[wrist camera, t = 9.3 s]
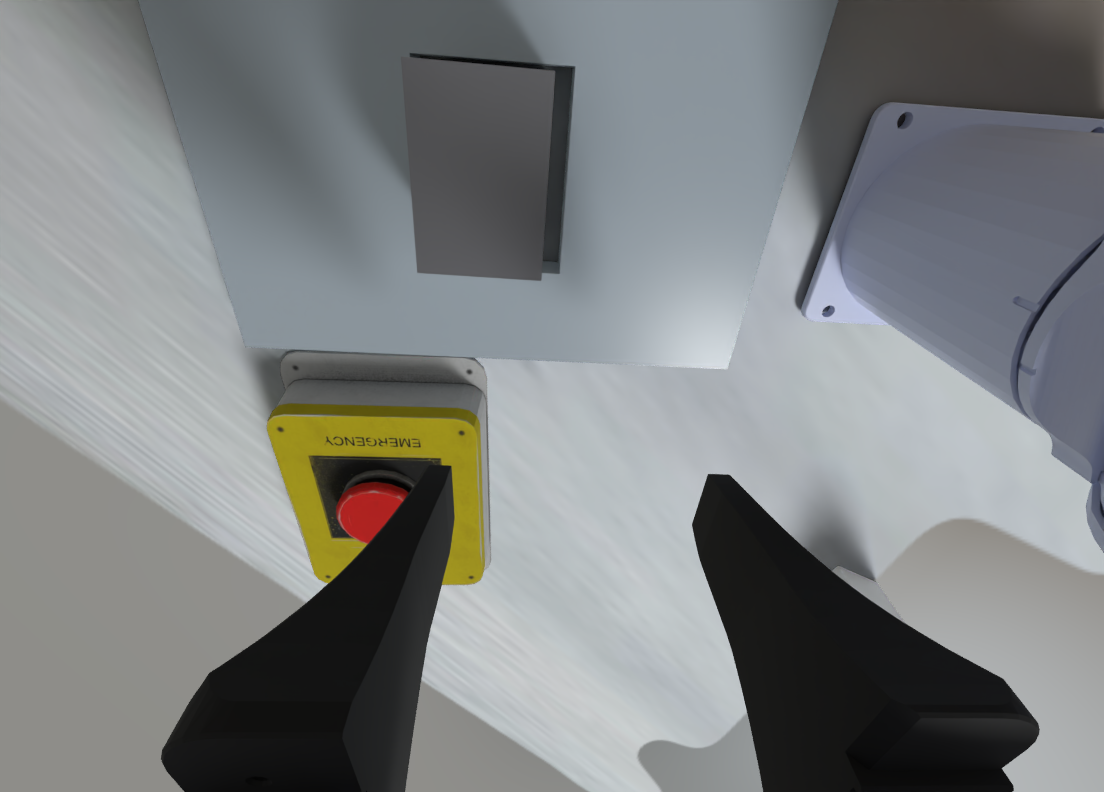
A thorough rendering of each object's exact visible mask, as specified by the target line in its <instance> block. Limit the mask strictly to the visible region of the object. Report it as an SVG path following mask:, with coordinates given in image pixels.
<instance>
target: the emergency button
mask: <svg viewBox="0 0 1104 792" xmlns="http://www.w3.org/2000/svg"><path fill="white" fill-rule="evenodd" d="M280 374H281V377H282V381H283V384H284V388H285V393H284V395H283V396H282V398H281V400H280V401H279V403H278V405H277V407H276V408H275V409H274V410H273V411H272V413H271V415H270V417H269V419H268V422H267V432H268V435H269V438H270V441H271V444H272V447H273V450H274V453H275V456H276V459H277V462H278V465H279V468H280V471H281V474H282V477H283V480H284V483H285V486H286V489H287V492H288V495H289V498H290V501H291V504H292V507H293V510H294V513H295V516H296V519H297V522H298V525H299V528H300V531H301V534H302V537H303V540H304V543H305V546H306V550H307V553H308V556H309V559H310V562H311V565H312V568H313V571H314V574H315V575H316V576H317V578H318V579H319V580H321V581H324V582H326V583H330V582H331V581H332V580H333V579H334V578H335V577H336V576H337V575H338V574H339V573H340V572H341V571H342V570H343V569H344V568H345V567H346V566H347V565H348V564H349V563H350V562H351V561H352V560H353V559H354V558H355V557H356V556H357V555H358V554H359V553H360V552H361V551H362V550H363V549H364V548H365V547H366V546H367V544H368V543H369V542H370V541H371V540H372V539H373V537H374V536H375V535H376V534H377V533H378V532H379V531H380V529H381V528H382V527H383V526H384V525H385V523H386V522H387V521H388V520H389V519H390V517H391V516H392V515H393V513H394V512H395V511H396V509H397V508H398V507H399V506H400V504H401V503H402V502H403V500H404V499H405V498H406V496H407V495H408V493H409V492H410V491H411V489H412V488H413V486H414V485H415V483H416V482H417V480H418V479H419V477H420V476H421V474H422V472H423V471H424V469H425V468H426V467H427V466H428V465H448V466H452V482H453V498H454V515H455V520H454V527H453V535H452V542H451V549H450V554H449V558H448V562H447V566H446V570H445V574H444V578H443V582H442V585H470V584H475V583H477V582H479V581H480V580H481V578H482V576H483V572H484V570H485V569H487V568H488V567H489V565H490V562H491V532H490V489H489V446H488V404H487V377H486V373H485V370H484V367H483V366H482V365H481V364H480V363H479V362H478V361H477V360H476V359H473V358H470V357H450V356H428V355H406V354H385V353H359V352H330V351H301V350H298V351H294V352H290V353H287V355H286V356H285V357H284V358H283V360H282V361H281V363H280Z"/></svg>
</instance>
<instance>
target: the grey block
mask: <svg viewBox="0 0 1104 792" xmlns="http://www.w3.org/2000/svg"><path fill="white" fill-rule="evenodd" d="M401 65H402V79H403V92H404V105H405V118H406V131H407V145H408V158H409V171H410V184H411V197H412V211H413V224H414V237H415V250H416V263H417V273H425V274H440V275H456V276H471V277H486V278H502V279H517V280H532V281H541V279H542V264H543V249H544V234H545V219H546V204H547V189H548V174H549V159H550V144H551V129H552V114H553V99H554V84H555V71H551V70H541V69H530V68H519V67H508V66H498V65H487V64H476V63H466V62H455V61H444V60H433V59H423V58H412V57H401Z"/></svg>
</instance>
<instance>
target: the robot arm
mask: <svg viewBox="0 0 1104 792" xmlns="http://www.w3.org/2000/svg"><path fill="white" fill-rule="evenodd" d="M903 113H905V115H906V118H905V122H904V123H903V125H902V126H900V127H899V128H898V126H897V120H898V119H899V117H900V116H901V115H902V114H903ZM1092 130H1093V132H1091V131H1092ZM827 306H830V309H829V310H828V311H827V312H825V313H822V311H823V309H824V308H825V307H827ZM801 313H802V315H803V316H804V317H805V318H806V319H807V320H809V321H817V322H836V323H856V324H875V325H891V326H892V327H894V328H895V329H897V330H898V331H900V332H901V333H902V334H904V335H905V336H907V337H908V338H910V339H911V340H913V341H914V342H916V343H917V344H919V345H920V346H922V347H923V348H925V349H926V350H928V351H929V352H931V353H932V354H933V355H935V356H936V357H938V358H939V359H941V360H942V361H944V362H945V363H947V364H948V365H950V366H951V367H953V368H954V369H956V370H957V371H959V372H960V373H962V374H963V375H964V376H966V377H967V378H969V379H970V380H972V381H973V382H975V383H976V384H978V385H979V386H981V387H982V388H984V389H985V390H987V391H988V392H990V393H991V394H993V395H994V396H995V397H997V398H998V399H1000V400H1001V401H1003V402H1004V403H1006V404H1007V405H1009V406H1010V407H1012V408H1013V409H1015V410H1016V411H1018V412H1019V413H1021V414H1022V415H1024V416H1025V417H1026V418H1028V419H1029V420H1031V421H1032V422H1034V423H1035V424H1037V425H1039V426H1040V427H1041V428H1043V429H1044V430H1045V431H1046V432H1047V433H1048V434H1049V435H1050V437H1051V439H1052V444H1053V446H1052V455H1053V456H1054V457H1055V458H1057V459H1058V460H1060V461H1061V462H1062V463H1064V464H1065V465H1067V466H1068V467H1069V468H1071V469H1072V470H1074V471H1075V472H1076V473H1078V474H1079V475H1080V476H1082V477H1083V478H1085V479H1086V480H1087V481H1089V482H1090V483H1092V486H1091V489H1090V491H1089V495H1088V499H1087V503H1086V512H1087V521H1088V525H1089V527H1090V529H1091V532H1092V534H1093V537H1094V539H1095V541H1096V542H1097V544H1098V545H1099V547H1100V548H1101V550H1102V551H1103V553H1104V119H1096V118H1084V117H1071V116H1059V115H1046V114H1034V113H1021V112H1009V111H996V110H984V109H971V108H959V107H946V106H934V105H921V104H909V103H896V102H890V103H885V104H883V105H881V106H880V107H879V108H878V109H877V110H876V111H875V112H874V114H873V115H872V117H871V120H870V123H869V125H868V128H867V131H866V133H865V136H864V139H863V142H862V144H861V147H860V150H859V152H858V155H857V158H856V161H855V163H854V166H853V169H852V171H851V174H850V177H849V180H848V182H847V185H846V188H845V191H844V193H843V196H842V199H841V201H840V204H839V207H838V210H837V212H836V215H835V218H834V220H833V223H832V226H831V229H830V231H829V234H828V237H827V239H826V242H825V245H824V248H823V250H822V253H821V256H820V259H819V261H818V264H817V267H816V269H815V272H814V275H813V278H812V280H811V283H810V286H809V288H808V291H807V294H806V297H805V299H804V302H803V305H802V308H801ZM454 520H455V515H454V498H453V482H452V466H448V465H428V466H427V467H426V468H425V469H424V471H423V472H422V474H421V476H420V477H419V479H418V480H417V482H416V483H415V485H414V486H413V488H412V489H411V491H410V492H409V493H408V495H407V496H406V498H405V499H404V500H403V502H402V503H401V504H400V506H399V507H398V508H397V509H396V511H395V512H394V513H393V515H392V516H391V517H390V519H389V520H388V521H387V522H386V523H385V525H384V526H383V527H382V528H381V529H380V531H379V532H378V533H377V534H376V535H375V536H374V537H373V539H372V540H371V541H370V542H369V543H368V544H367V546H366V547H365V548H364V549H363V550H362V551H361V552H360V553H359V554H358V555H357V556H356V557H355V558H354V559H353V560H352V561H351V562H350V563H349V564H348V565H347V566H346V567H345V568H344V569H343V570H342V571H341V572H340V573H339V574H338V575H337V576H336V577H335V578H334V579H333V580H332V581H331V582H330V583H328V584H327V585H326V586H325V587H324V588H323V589H322V590H321V591H320V592H318V593H317V594H316V595H315V596H314V597H313V598H312V599H310V600H309V601H308V602H307V603H306V604H305V605H303V606H302V607H301V608H300V609H298V610H297V611H296V612H295V613H293V614H292V615H291V616H289V617H288V618H287V619H286V620H284V621H283V622H282V623H280V624H279V625H278V626H277V627H275V628H274V629H273V630H271V631H270V632H269V633H268V634H266V635H265V636H264V637H262V638H261V639H259V640H258V641H256V642H255V643H254V644H252V645H251V646H249V647H248V648H246V649H245V650H243V651H242V652H241V653H239V654H238V655H236V656H234V657H233V658H231V659H230V660H229V661H227V662H226V663H224V664H223V665H221V666H220V667H218V668H217V669H215V670H213V671H212V672H210V673H209V674H208V676H207V677H206V679H205V680H204V682H203V683H202V685H201V686H200V688H199V689H198V691H197V692H196V693H195V695H194V696H193V698H192V699H191V701H190V702H189V704H188V705H187V707H186V709H185V711H184V712H183V714H182V716H181V718H180V720H179V721H178V723H177V725H176V727H175V729H174V730H173V732H172V734H171V735H170V737H169V739H168V741H167V743H166V744H165V746H164V748H163V750H162V755H161V760H162V763H163V765H164V767H165V769H166V770H167V772H168V773H169V774H170V776H171V777H172V778H173V779H174V780H175V781H176V782H177V783H178V785H179V786H180V787H181V788H182V789H183V790H184V792H405V788H406V779H407V772H408V765H409V758H410V751H411V743H412V737H413V730H414V723H415V716H416V710H417V703H418V697H419V690H420V683H421V677H422V671H423V665H424V659H425V653H426V647H427V642H428V637H429V633H430V628H431V624H432V620H433V617H434V613H435V609H436V605H437V601H438V597H439V593H440V590H441V586H442V582H443V578H444V574H445V570H446V566H447V562H448V558H449V554H450V549H451V542H452V535H453V527H454ZM692 527H693V532H694V537H695V542H696V546H697V550H698V554H699V559H700V561H701V564H702V567H703V570H704V573H705V576H706V579H707V581H708V584H709V587H710V590H711V592H712V595H713V598H714V601H715V603H716V606H717V609H718V611H719V614H720V617H721V620H722V622H723V625H724V628H725V631H726V633H727V636H728V640H729V643H730V646H731V649H732V652H733V656H734V660H735V664H736V668H737V672H738V676H739V680H740V684H741V688H742V692H743V696H744V701H745V705H746V709H747V713H748V717H749V722H750V726H751V731H752V736H753V741H754V746H755V751H756V755H757V760H758V765H759V770H760V775H761V781H762V787H763V792H1012V791H1014V788H1013V784H1012V783H1011V782H1010V780H1009V779H1008V777H1007V776H1006V774H1005V773H1004V771H1003V770H1002V768H1003V767H1004V766H1005V765H1007V764H1008V763H1009V762H1011V761H1012V760H1013V759H1015V758H1016V757H1017V756H1019V755H1020V754H1021V753H1023V752H1024V751H1025V750H1027V749H1028V748H1029V747H1030V746H1031V745H1032V744H1033V743H1034V742H1035V741H1036V739H1037V737H1038V735H1039V725H1038V723H1037V721H1036V720H1035V719H1034V717H1033V716H1032V715H1031V714H1030V712H1029V711H1028V710H1027V708H1026V707H1025V706H1024V705H1023V703H1022V702H1021V701H1020V699H1019V698H1018V697H1017V696H1016V695H1015V693H1014V692H1013V691H1012V689H1011V688H1010V687H1009V686H1008V684H1007V683H1006V682H1005V681H1004V679H1002V678H1000V677H999V676H997V675H995V674H993V673H991V672H989V671H987V670H986V669H984V668H981V667H980V666H978V665H976V664H974V663H973V662H971V661H969V660H967V659H965V658H963V657H961V656H959V655H957V654H956V653H954V652H952V651H950V650H948V649H947V648H945V647H943V646H942V645H940V644H938V643H937V642H935V641H933V640H931V639H930V638H928V637H927V636H925V635H923V634H921V633H920V632H918V631H916V630H915V629H913V628H912V627H910V626H908V625H907V624H905V623H904V622H902V621H901V620H899V619H898V618H896V617H894V616H893V615H891V614H890V613H889V612H887V611H886V610H884V609H883V608H881V607H880V606H878V605H877V604H875V603H874V602H872V601H871V600H869V599H868V598H867V597H865V596H864V595H862V594H861V593H860V592H858V591H857V590H856V589H854V588H853V587H852V586H850V585H849V584H848V583H846V582H845V581H844V580H843V579H841V578H840V577H839V576H837V575H836V574H835V573H834V572H832V571H831V570H830V569H828V568H827V567H826V566H825V565H824V564H822V563H821V562H820V561H819V560H818V559H816V558H815V557H814V556H813V555H812V554H811V553H810V552H809V551H807V550H806V549H805V548H804V547H803V546H802V545H801V544H799V543H798V542H797V541H796V540H795V539H794V538H793V537H792V536H791V535H790V534H789V533H788V532H786V531H785V530H784V529H783V528H782V527H781V526H780V525H779V524H778V523H777V522H776V521H775V520H774V519H773V518H772V517H771V516H770V515H769V514H768V513H767V512H766V511H765V510H764V509H763V508H762V507H761V506H760V505H759V504H758V503H757V502H756V501H755V500H754V499H753V498H752V497H751V496H750V495H749V494H748V493H747V492H746V491H745V490H744V489H743V488H742V487H741V486H740V485H739V484H738V483H737V482H736V481H735V480H734V479H733V478H732V477H731V476H730V475H721V474H708V476H707V479H706V483H705V486H704V489H703V492H702V495H701V498H700V501H699V504H698V508H697V511H696V514H695V517H694V520H693V523H692Z"/></svg>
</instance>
